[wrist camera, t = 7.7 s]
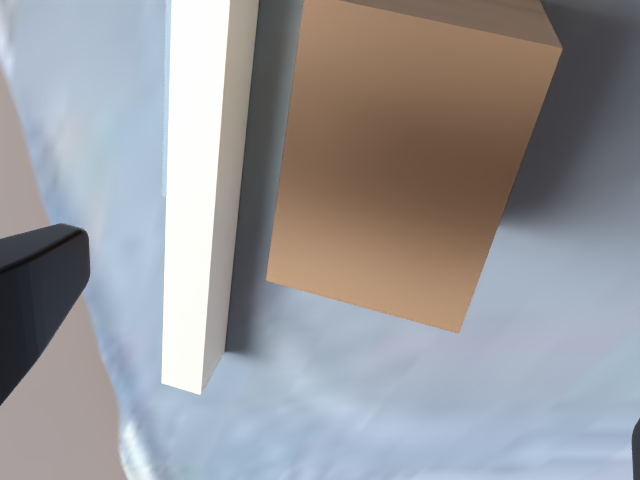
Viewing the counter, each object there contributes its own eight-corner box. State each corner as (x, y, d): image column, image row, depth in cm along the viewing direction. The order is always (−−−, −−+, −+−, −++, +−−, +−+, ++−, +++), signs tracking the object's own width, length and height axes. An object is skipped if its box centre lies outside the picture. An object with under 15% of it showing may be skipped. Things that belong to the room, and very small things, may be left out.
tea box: (465, 221, 20) (458, 333, 15) (315, 183, 21) (260, 279, 16) (539, -1, 16) (563, 48, 11) (353, -39, 17) (297, -9, 12)
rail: (222, -509, 13) (171, -585, 11) (307, -499, 13) (272, -576, 11) (181, 340, 26) (154, 380, 23) (224, 352, 25) (200, 394, 23)
